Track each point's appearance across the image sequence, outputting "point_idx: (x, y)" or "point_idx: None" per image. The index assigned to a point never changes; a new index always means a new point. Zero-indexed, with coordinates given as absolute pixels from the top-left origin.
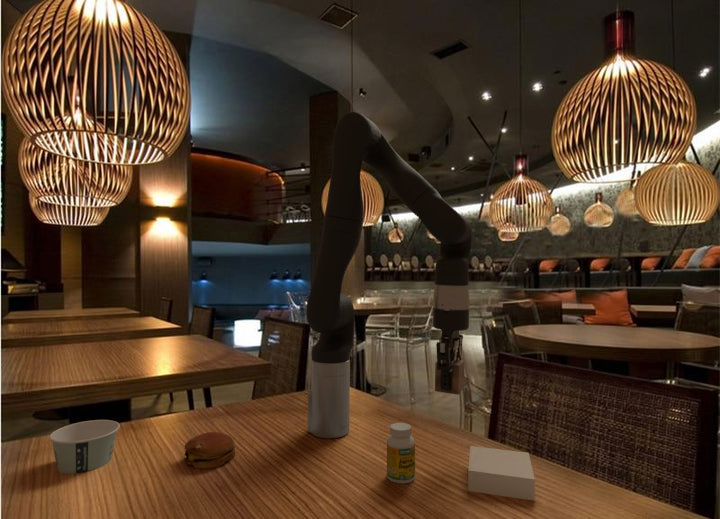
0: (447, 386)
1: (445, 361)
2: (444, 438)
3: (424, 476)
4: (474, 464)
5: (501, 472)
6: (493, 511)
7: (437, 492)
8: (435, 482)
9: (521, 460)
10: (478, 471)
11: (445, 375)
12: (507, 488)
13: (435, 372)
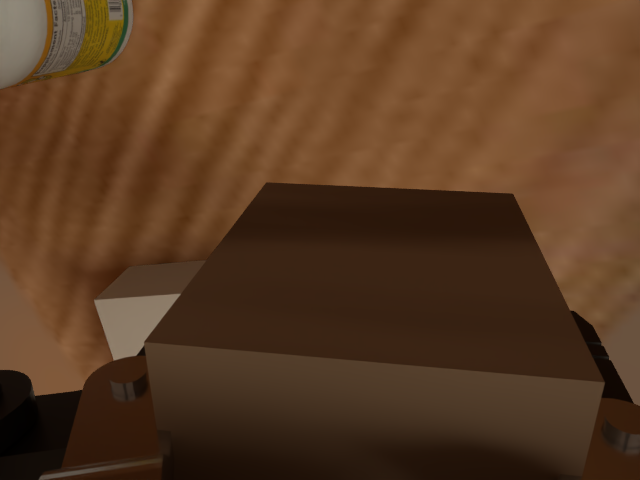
0: None
1: (325, 469)
2: (605, 82)
3: (141, 98)
4: (154, 315)
5: None
6: (60, 341)
7: (60, 174)
8: (121, 151)
9: None
10: (107, 332)
11: None
12: None
13: (202, 268)
